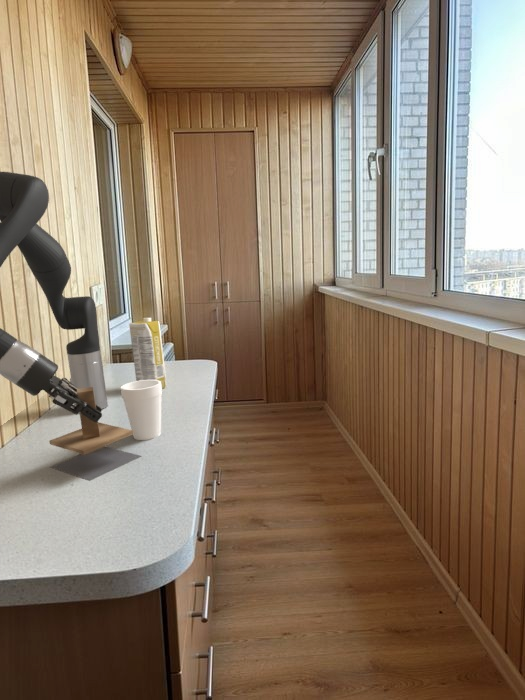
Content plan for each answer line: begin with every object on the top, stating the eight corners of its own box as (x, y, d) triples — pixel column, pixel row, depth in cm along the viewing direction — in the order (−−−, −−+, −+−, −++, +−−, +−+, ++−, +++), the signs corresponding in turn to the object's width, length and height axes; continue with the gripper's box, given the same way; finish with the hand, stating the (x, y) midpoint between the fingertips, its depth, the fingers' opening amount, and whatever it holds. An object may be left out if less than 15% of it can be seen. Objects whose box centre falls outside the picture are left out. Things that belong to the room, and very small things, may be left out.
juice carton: (170, 386, 164) (162, 316, 159) (153, 393, 157) (145, 319, 153) (150, 384, 169) (142, 316, 164) (133, 390, 162) (124, 319, 158)
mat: (49, 468, 101) (49, 467, 101) (101, 447, 112) (101, 445, 112) (90, 482, 93) (89, 480, 93) (142, 457, 104) (141, 455, 104)
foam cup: (157, 444, 111) (150, 389, 109) (120, 444, 113) (113, 390, 111) (173, 429, 120) (167, 379, 118) (138, 429, 122) (132, 380, 120)
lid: (49, 444, 101) (41, 394, 99) (98, 425, 110) (92, 379, 108) (84, 454, 94) (76, 401, 92) (133, 434, 103) (127, 385, 101)
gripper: (35, 359, 89) (112, 411, 95) (42, 347, 102) (109, 393, 109) (8, 391, 89) (87, 441, 95) (18, 375, 102) (87, 420, 108)
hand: (99, 415), depth 102 cm, fingers closed on lid, 3 cm apart
